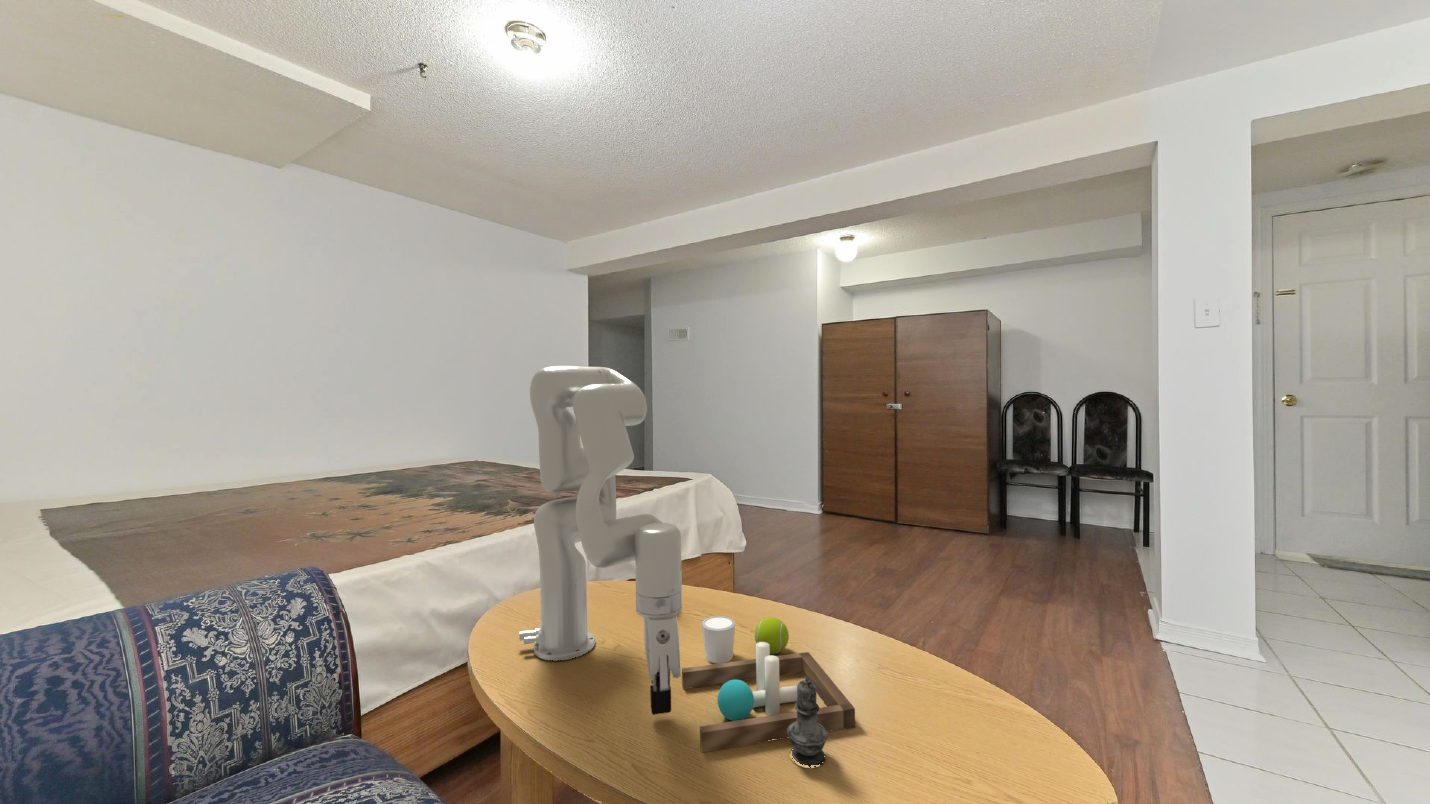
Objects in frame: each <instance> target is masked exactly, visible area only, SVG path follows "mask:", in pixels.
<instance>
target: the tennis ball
mask: <svg viewBox="0 0 1430 804" xmlns="http://www.w3.org/2000/svg"><path fill="white" fill-rule="evenodd" d="M789 637H790V635H789V630H788V627H787V625H786V624H785V623H784V622H783V621H782V620H781V619H779V618H776V617H773V616H772V617H771V616H769V617H766V618H763V619H761V620H760V621H759V622H758V624H757V625H756V627H755V630H754V640H755V643H756V644H757V643H759V642H766V643H768V644H769V645H770V655H777V654H780V653H781V652H783V651H784V650H785V649H786V647H787V645H788V643H789Z"/></svg>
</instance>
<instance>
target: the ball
mask: <svg viewBox="0 0 1430 804" xmlns="http://www.w3.org/2000/svg"><path fill="white" fill-rule="evenodd" d="M717 705H718V708H719V711H720V713H721V714H722V715H723V717H725V718H726V719H727V720H729V721H731V722H732V721H738V720H745V719H747V718H748V717H749V715H750V714H751V712H752V711H753V705H754V696H753V693H752V689H751V687H750V686H749V685H748V684H747V682H745V681H741V680H730V681H728V682H726V683H723V684H722V685H721V687H720V688H719V691H718V695H717Z"/></svg>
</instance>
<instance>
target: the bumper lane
mask: <svg viewBox="0 0 1430 804" xmlns="http://www.w3.org/2000/svg"><path fill="white" fill-rule="evenodd" d="M776 656H777V657H778V658H779V675H780V676H787V675H793V674H801V673H802V674H803V676H804V678H805V677H806V676H807V677H808V678H809V679H808V680H809V681H811V682H813V683H814V684H815V686H816V695H818V696H819V698H820V699H821V700H822V701H824V702H823V703H824V705H825V706H823V707H819V711H818V712H817V722H818V723H819V724H820V725H822V726H823V727H824V728H825V729H826V731H828V732H832V731H831V730H834V731H839V729H840V730H844V728H846V729H851V727H852V728H855V727H856V708H855V707H854V705H853V704H852V703H851V701H850V700H848V698H847V697H846V695H845V694H844V693H843V692H842V691H841V690H840V689H839V687H838V686H837V685H836V683H834V681H833V680H832V679H831V677H830V676H829V675H828V674H827V673H826V672H825V670H824V669H823V668H822V666H821V665H820V664H819V663H818V662H817V661H816V659H815V658H814V657H813V656H812V655H811V653H810V652H809V651H805V652H798V653H791V654H783V655H776ZM730 680H741V681H743V682H745V681H751V680H756V658H753V659H752V658H751V659H744V660H736V661H728V662H726V663H713V664H712V663H711V664H707V665H698V666H691V667H683V668H681V685H682V689H683V690H685V689H686V690H687V689H692V688H700V687H707V686H714V685H720V684H722V685H723V684H725V683H726V682H728V681H730ZM796 721H797V710H795V711H791V712H784V713H779V714H777V715H771V716H769V715H766V716H760V717H753V718H745V719H743V720H738V721H732V720H731V721H725V722H720V723H719V722H718V723H714V724H707V725H700V726H699V746H700V747H699V748H700V751H701V753H707V752H712V751H713V752H714V751H721V750H724V749H731V748H735V747H743V746H751V745H755V743H756V744H759V743H758V742H762V743H766V742H765V741H768V740H772V739H780V738H781V739H780V740H783V739H782V738H786V739H788V738H787V737H789V736H788V734H787V729H788V727H789V726H790V724H792V723H793V722H796ZM837 729H838V730H837ZM768 742H769V741H768Z"/></svg>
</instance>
